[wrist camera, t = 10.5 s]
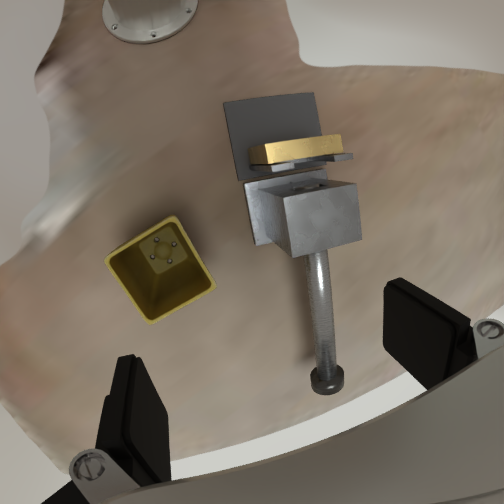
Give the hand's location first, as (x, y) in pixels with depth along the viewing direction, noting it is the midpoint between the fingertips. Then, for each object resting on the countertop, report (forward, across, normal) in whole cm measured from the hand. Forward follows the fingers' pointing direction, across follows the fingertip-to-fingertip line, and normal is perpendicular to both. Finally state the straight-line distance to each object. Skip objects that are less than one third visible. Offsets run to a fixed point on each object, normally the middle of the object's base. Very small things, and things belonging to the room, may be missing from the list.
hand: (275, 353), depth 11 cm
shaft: (+25, -11, +12) cm, 30 cm away
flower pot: (+30, +6, +3) cm, 31 cm away
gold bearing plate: (+30, -11, -6) cm, 32 cm away
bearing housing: (+30, -11, +1) cm, 32 cm away
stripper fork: (+30, -11, -4) cm, 32 cm away
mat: (+30, -11, -8) cm, 33 cm away
